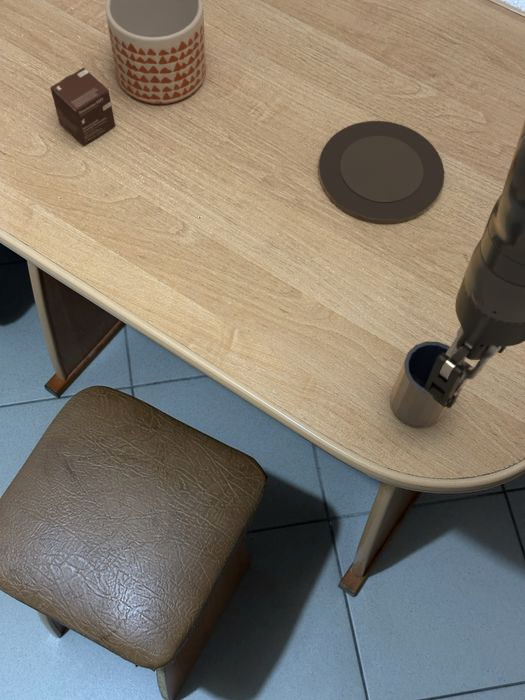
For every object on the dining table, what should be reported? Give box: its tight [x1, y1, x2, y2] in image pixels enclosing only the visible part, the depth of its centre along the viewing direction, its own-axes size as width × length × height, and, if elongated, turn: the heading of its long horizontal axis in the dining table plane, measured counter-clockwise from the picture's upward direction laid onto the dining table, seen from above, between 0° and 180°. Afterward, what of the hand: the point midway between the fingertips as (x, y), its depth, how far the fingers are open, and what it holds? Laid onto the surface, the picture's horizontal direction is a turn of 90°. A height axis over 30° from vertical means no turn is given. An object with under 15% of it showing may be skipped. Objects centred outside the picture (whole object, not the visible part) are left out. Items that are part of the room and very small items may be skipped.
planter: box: [104, 0, 207, 105], centre depth 123 cm, size 14×14×13 cm
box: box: [50, 67, 116, 146], centre depth 120 cm, size 6×6×7 cm
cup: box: [389, 340, 451, 429], centre depth 100 cm, size 7×7×10 cm
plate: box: [318, 120, 445, 225], centre depth 120 cm, size 18×18×1 cm
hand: (468, 372), depth 84 cm, fingers open, 8 cm apart
